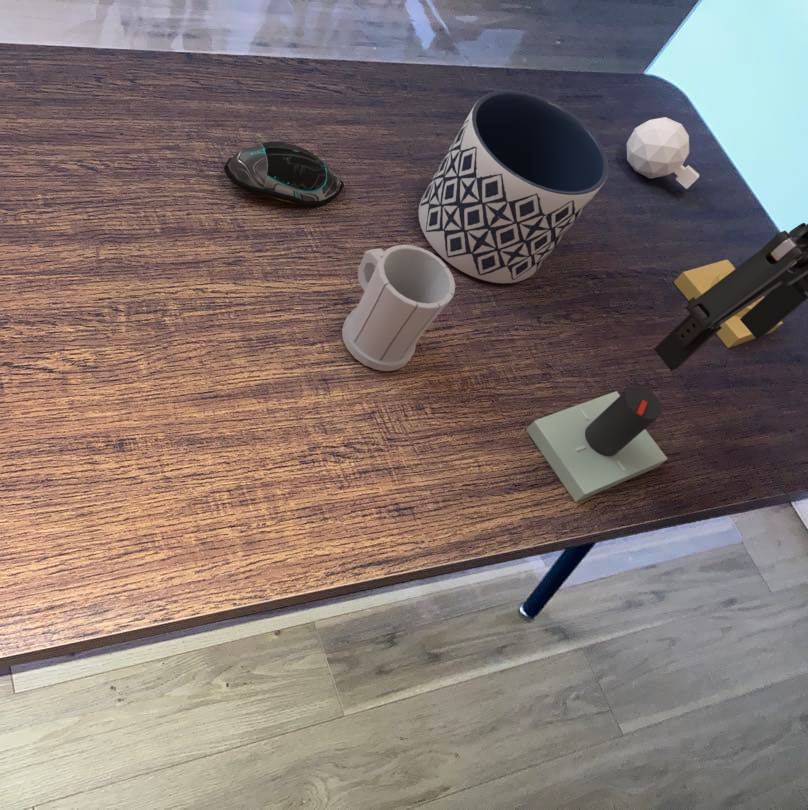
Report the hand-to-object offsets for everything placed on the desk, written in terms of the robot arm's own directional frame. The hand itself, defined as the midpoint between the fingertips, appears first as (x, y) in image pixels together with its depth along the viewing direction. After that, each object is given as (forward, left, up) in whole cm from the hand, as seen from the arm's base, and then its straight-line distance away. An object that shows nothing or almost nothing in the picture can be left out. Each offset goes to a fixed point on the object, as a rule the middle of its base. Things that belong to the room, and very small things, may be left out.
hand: (708, 343), depth 90 cm
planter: (+33, -6, -21) cm, 39 cm away
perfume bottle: (+37, -44, -21) cm, 61 cm away
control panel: (0, 0, -20) cm, 21 cm away
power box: (+12, -37, -20) cm, 44 cm away
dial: (0, 0, -18) cm, 18 cm away
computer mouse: (+47, +18, -21) cm, 54 cm away
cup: (+22, +19, -21) cm, 36 cm away
